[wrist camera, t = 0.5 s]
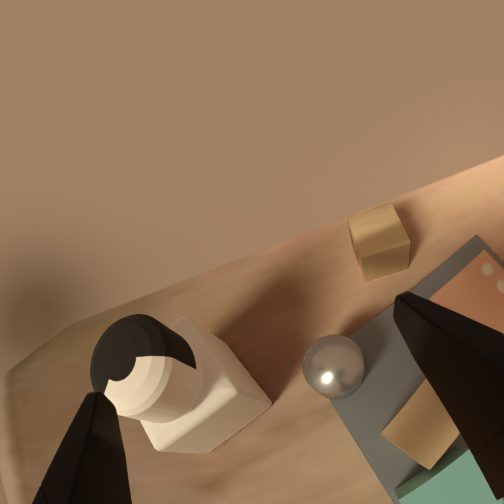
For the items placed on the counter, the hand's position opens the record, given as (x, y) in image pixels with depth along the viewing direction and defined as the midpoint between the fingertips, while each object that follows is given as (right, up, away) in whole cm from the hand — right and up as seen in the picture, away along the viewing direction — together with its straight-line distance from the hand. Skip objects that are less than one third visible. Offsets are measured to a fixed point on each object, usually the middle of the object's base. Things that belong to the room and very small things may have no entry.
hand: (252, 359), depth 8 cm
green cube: (+13, -13, +5) cm, 19 cm away
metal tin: (+6, -6, +13) cm, 16 cm away
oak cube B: (+11, +2, +16) cm, 19 cm away
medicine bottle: (-3, -9, +17) cm, 19 cm away
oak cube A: (+11, -9, +9) cm, 17 cm away
